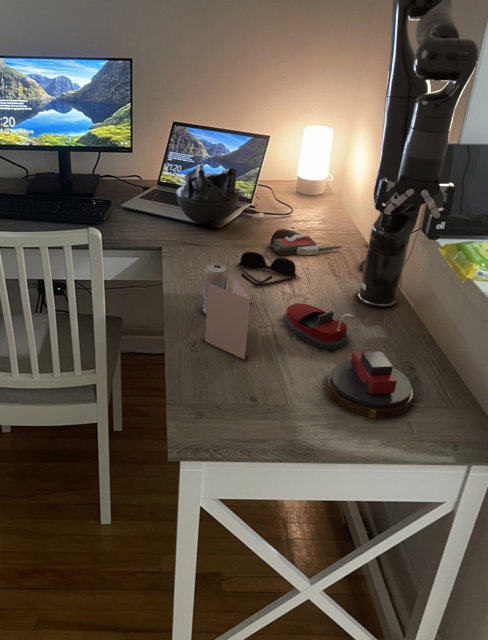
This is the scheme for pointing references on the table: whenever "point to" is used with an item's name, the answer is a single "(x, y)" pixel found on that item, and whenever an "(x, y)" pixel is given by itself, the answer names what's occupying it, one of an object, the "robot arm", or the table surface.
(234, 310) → the greeting card
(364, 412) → the stand
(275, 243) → the walkie-talkie
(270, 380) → the table surface
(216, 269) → the energy drink
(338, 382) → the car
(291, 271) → the sunglasses
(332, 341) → the bumper car
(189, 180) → the bowl of black rocks
